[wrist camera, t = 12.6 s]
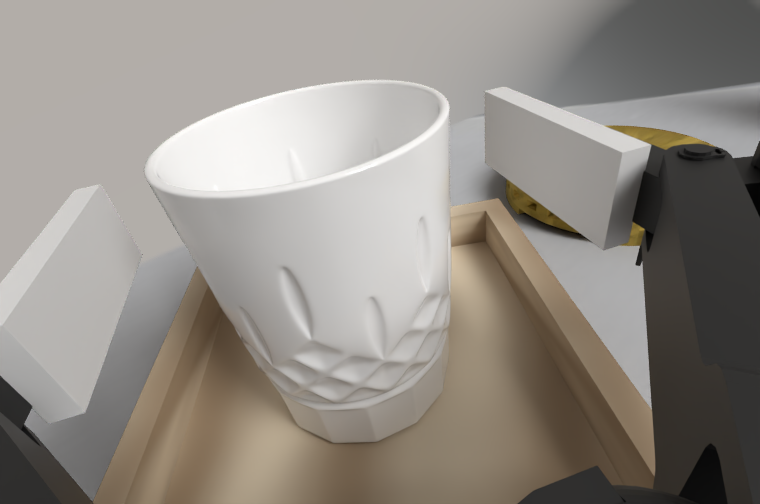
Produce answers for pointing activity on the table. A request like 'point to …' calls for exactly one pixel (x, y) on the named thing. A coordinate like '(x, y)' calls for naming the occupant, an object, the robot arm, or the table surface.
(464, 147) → the table surface
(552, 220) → the gold notched disc
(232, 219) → the white cup
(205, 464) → the tray
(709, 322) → the robot arm
